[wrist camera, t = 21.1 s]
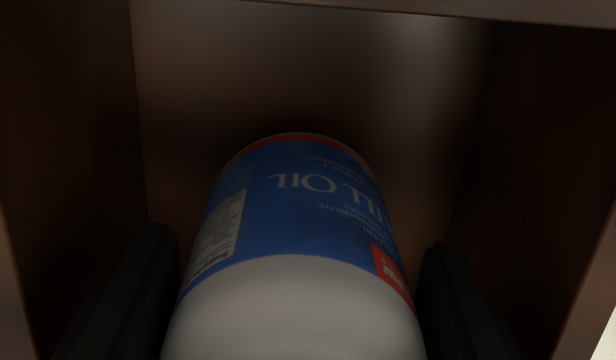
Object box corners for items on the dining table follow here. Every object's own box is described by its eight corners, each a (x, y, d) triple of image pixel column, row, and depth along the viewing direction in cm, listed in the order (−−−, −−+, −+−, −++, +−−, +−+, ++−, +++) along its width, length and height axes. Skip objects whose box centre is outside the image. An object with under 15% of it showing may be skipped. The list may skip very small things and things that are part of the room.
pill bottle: (418, 184, 16) (556, 508, 8) (318, 297, 18) (339, 652, 10) (268, 89, 15) (229, 362, 6) (177, 224, 17) (54, 569, 8)
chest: (98, -103, 15) (-140, -97, 7) (539, -66, 15) (772, -23, 7) (140, 294, 22) (44, 514, 14) (441, 314, 22) (507, 540, 15)
